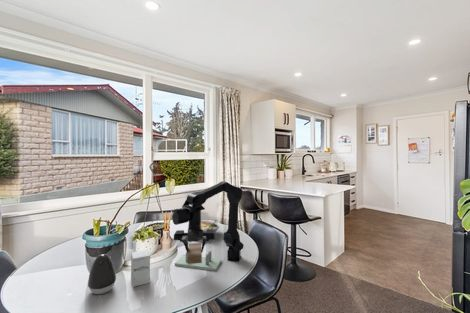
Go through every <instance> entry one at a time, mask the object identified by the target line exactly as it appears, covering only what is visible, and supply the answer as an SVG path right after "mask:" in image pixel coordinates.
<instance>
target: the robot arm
mask: <svg viewBox="0 0 470 313" xmlns="http://www.w3.org/2000/svg"><path fill="white" fill-rule="evenodd" d="M221 192H222V193H223V192H225V193H226V198H227V200H228V204H229V205H228V222H227V225H228V227H227V230H226V231H224V232H223V239H222V240H223V242H224V243H225V246H226V247H227V248H228V249H227V253H226V254H227V261H231V262H240V260H241V259H242V255H241V252H242V250H243V249H244V245H245V244H243V242H241V240H240V238H241V237H240V236H241V235H240V233H239V231H238V222H239V221H238V219H239V218H238V216H239V203H240V202H241V200H242V197H243V196H242V195H243V189H242V188H241V187H239V186H235V185H233V184H232V183H231V184H230V183H229V182H227V181H220V182H218V183H216V184H214V185H213V186H212V185H211V186H210V187H207V188H206V189H204V190H199V191H194V192H190V193H188V194H187V197H186V200H185V201H184V203H183V204H182V205H181V208H174V212H172V216H171V219H172V222H173V223H172V224H174V225H175V226H177V225H182V224H185V223H188V224H189V228H188V227H187V232H185V230H184V229H182V230H179V229H178V230H176V231H175V232H174V234H173V241H179V242H180V243H182V244H183V245H184V248H185V252H187V253H188V249H189V243H192V242H194V243H198V242H199V240H200V239H202V243H201V253H203V251H204V249H205V245H206V243H207V242H209V241H211V240H215V239H216V238H215V236H216V235H215V234H216V232H215V231H214V230H207V231H206V232H203V230H201V220H202V211H203V210H204V211H205V207H204V206H203V205H204V204H205V203H206V202H207V200H208V199H210V198H212V197H214V196H216V195H218V194H220V193H221Z"/></svg>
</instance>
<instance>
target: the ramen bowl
mask: <svg viewBox="0 0 470 313" xmlns="http://www.w3.org/2000/svg"><path fill="white" fill-rule="evenodd" d="M220 226H221V224H220V223H219V222H218V221H217V219H215V220H209V219H201V230H203V232H206V231H207V230H214V231H215V233H216V232H217V231H218V230H219V228H220ZM186 227H187V229H188V228H189V223H187V225H186Z"/></svg>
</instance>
